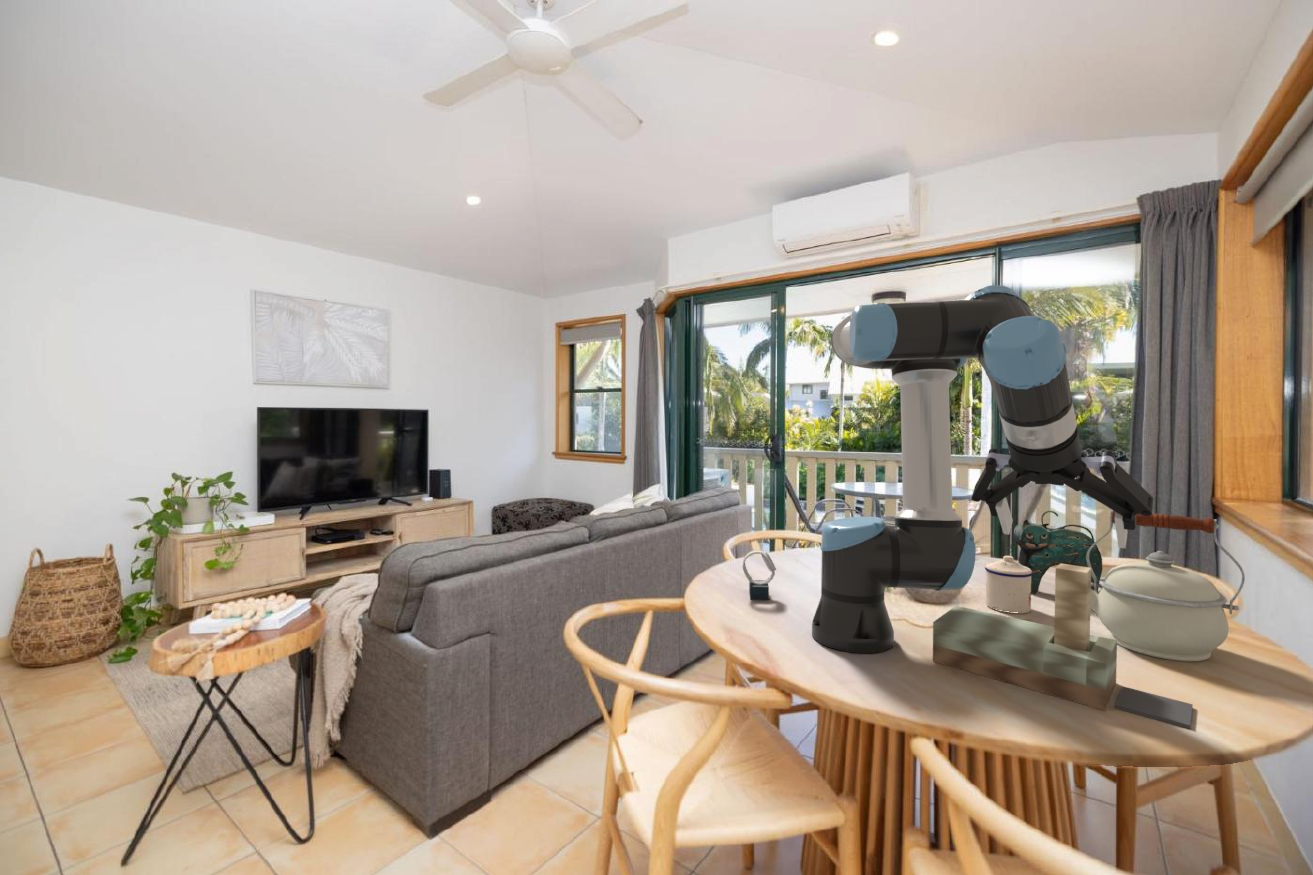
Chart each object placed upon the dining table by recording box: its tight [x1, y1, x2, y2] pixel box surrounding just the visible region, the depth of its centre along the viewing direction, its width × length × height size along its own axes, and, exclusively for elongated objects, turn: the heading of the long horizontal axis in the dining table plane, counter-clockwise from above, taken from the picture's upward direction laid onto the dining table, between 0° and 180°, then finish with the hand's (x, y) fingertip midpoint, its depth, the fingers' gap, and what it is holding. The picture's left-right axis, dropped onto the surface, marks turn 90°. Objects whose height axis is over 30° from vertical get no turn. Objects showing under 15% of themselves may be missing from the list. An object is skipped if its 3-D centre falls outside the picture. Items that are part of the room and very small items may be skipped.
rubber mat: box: [1115, 686, 1193, 730], centre depth 83 cm, size 8×8×1 cm
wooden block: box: [1054, 563, 1091, 652], centre depth 90 cm, size 4×4×16 cm
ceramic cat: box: [1012, 510, 1103, 594], centre depth 139 cm, size 20×6×20 cm, turn 88°
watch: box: [742, 549, 777, 601], centre depth 136 cm, size 6×8×11 cm
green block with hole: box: [932, 605, 1118, 711], centre depth 95 cm, size 24×12×7 cm, turn 45°
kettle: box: [1086, 509, 1246, 663], centre depth 106 cm, size 25×18×25 cm
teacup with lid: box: [984, 555, 1033, 614], centre depth 128 cm, size 12×9×12 cm
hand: (1062, 533), depth 81 cm, fingers open, 13 cm apart
